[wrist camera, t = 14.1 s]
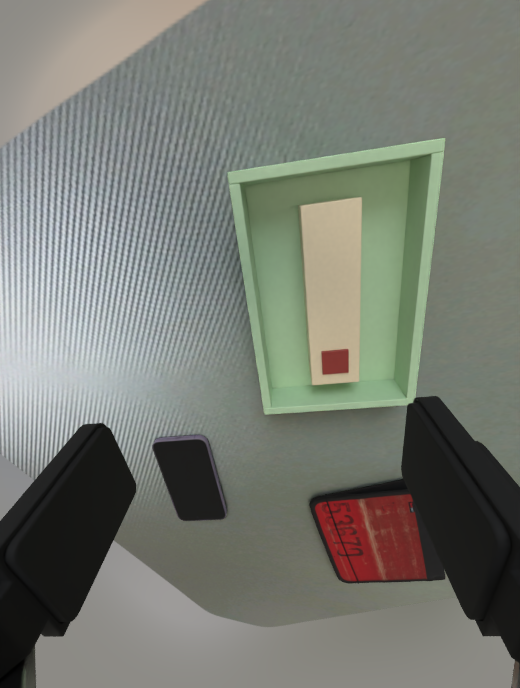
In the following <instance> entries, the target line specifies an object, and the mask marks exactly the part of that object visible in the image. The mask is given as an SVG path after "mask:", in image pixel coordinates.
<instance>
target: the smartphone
mask: <svg viewBox="0 0 520 688" xmlns="http://www.w3.org/2000/svg"><path fill="white" fill-rule="evenodd" d="M152 448H153V451H154V454H155V457H156V459H157V462H158V465H159V467H160V470H161V473H162V475H163V478H164V481H165V484H166V486H167V489H168V492H169V494H170V497H171V500H172V502H173V505H174V508H175V510H176V513H177V516H178V517H179V519H181V520H183V521H199V520H221V519H224V518H225V517H226V514H227V508H226V505H225V501H224V497H223V494H222V490H221V486H220V483H219V479H218V475H217V471H216V468H215V464H214V460H213V457H212V453H211V449H210V445H209V442H208V440H207V438H206V437H204V436H202V435H189V436H176V437H162V438H157V439H156V440H155V441H154V443H153V445H152Z"/></svg>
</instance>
